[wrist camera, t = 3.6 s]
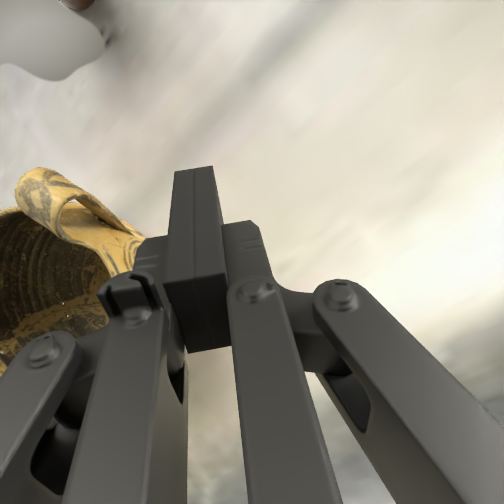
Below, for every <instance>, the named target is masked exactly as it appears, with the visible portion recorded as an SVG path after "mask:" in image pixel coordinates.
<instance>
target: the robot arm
mask: <svg viewBox="0 0 504 504" xmlns="http://www.w3.org/2000/svg"><path fill="white" fill-rule="evenodd" d="M134 260H135V262H134V264H133V268H132V269H133V270H132V271H127V272H123V273H120V274H117V275H116V276H114V277H112V278H110V279H108V280H107V281H106V282H105V283H104V284H103V285H102V286H101V287H100V288H99V290H98V292H97V293H96V295H97V297H98V299H99V301H100V303H101V304H102V306H103V308H104V310H105V312H106V314H107V315H108V317H109V322H108V324H107V325H106V326H104V327H102V328H100V329H98V330H96V331H93V332H91V333H89V334H86V335H84V336H82V337H79V338H77V339H75V338H74V336H73V335H72V334H71V333H69V332H67V331H62V330H58V331H51V332H48V333H45V334H43V335H40V336H38V337H37V338H35V339H34V340H32V341H31V342H29V343H28V344H26V345H25V346H24V347H23V349H22V350H21V351H20V352H19V353H18V354H17V355H16V356H15V358H14V359H13V360H12V362H11V363H10V364H9V366H8V367H7V368H6V370H5V371H4V372H3V374H2V375H1V376H0V504H187V449H188V368H187V364H186V361H185V359H184V344H185V346H186V349H187V352H188V354H190V353H195V352H200V351H206V350H211V349H217V348H222V347H227V346H232V354H233V363H234V373H235V382H236V391H237V401H238V410H239V419H240V428H241V438H242V447H243V456H244V466H245V475H246V484H247V494H248V503H249V504H343V502H342V498H341V495H340V491H339V488H338V485H337V481H336V478H335V474H334V471H333V468H332V464H331V461H330V458H329V454H328V451H327V447H326V444H325V441H324V437H323V434H322V430H321V427H320V424H319V420H318V417H317V414H316V410H315V407H314V403H313V400H312V397H311V393H310V390H309V386H308V383H307V380H306V376H305V373H304V371H306V372H314V373H315V374H316V376H317V378H318V379H319V381H320V382H321V384H322V386H323V387H324V389H325V390H326V392H327V394H328V395H329V397H330V398H331V400H332V402H333V403H334V405H335V406H336V408H337V409H338V411H339V413H340V414H341V416H342V417H343V419H344V421H345V422H346V424H347V425H348V427H349V429H350V430H351V432H352V433H353V435H354V437H355V438H356V440H357V441H358V443H359V445H360V446H361V448H362V449H363V451H364V453H365V454H366V456H367V457H368V459H369V461H370V462H371V464H372V465H373V467H374V468H375V470H376V472H377V473H378V475H379V476H380V478H381V480H382V481H383V483H384V484H385V486H386V488H387V489H388V491H389V492H390V494H391V496H392V497H393V499H394V500H395V502H396V504H504V426H503V425H502V424H501V423H500V422H499V421H498V420H497V419H496V418H495V417H494V416H493V415H492V414H491V413H490V412H489V411H488V410H487V409H486V408H485V407H484V406H483V405H482V404H481V403H480V402H479V401H478V400H477V399H476V398H475V397H474V396H473V395H472V394H471V393H470V392H469V391H468V390H467V389H466V388H465V387H464V386H463V385H462V384H461V383H460V382H459V381H458V380H457V379H456V378H455V377H454V376H453V375H452V374H451V373H450V372H449V371H448V370H447V369H446V368H445V367H444V366H443V365H442V364H441V363H440V362H439V361H438V360H437V359H436V358H434V357H433V356H432V355H431V354H430V353H429V352H428V351H427V350H426V349H425V348H424V347H423V346H422V345H421V344H420V343H419V342H418V341H417V340H416V339H415V338H414V337H413V336H412V335H411V334H410V333H409V332H408V331H407V330H406V329H405V328H404V327H403V326H402V325H401V324H400V323H399V322H398V321H397V320H396V319H395V318H394V317H393V316H392V315H391V314H390V313H389V312H388V311H387V310H386V309H385V308H384V307H383V306H382V305H381V304H380V303H379V302H378V301H377V300H376V299H375V298H374V297H373V296H372V295H371V294H370V293H369V292H368V291H367V290H366V289H365V288H363V287H362V286H361V285H359V284H358V283H355V282H352V281H349V280H342V279H334V280H330V281H326V282H324V283H322V284H320V285H319V286H318V287H317V288H316V289H315V291H314V292H313V293H304V292H295V291H291V290H288V289H285V288H284V287H282V286H280V285H279V284H278V283H277V282H276V281H275V279H274V277H273V275H272V271H271V268H270V264H269V261H268V257H267V254H266V250H265V247H264V244H263V240H262V237H261V233H260V230H259V227H258V226H257V225H256V224H254V223H253V222H252V221H251V220H247V221H242V222H236V223H230V224H224V223H223V218H222V212H221V207H220V202H219V197H218V191H217V186H216V181H215V176H214V171H213V166H207V167H201V168H194V169H188V170H182V171H176V172H175V173H174V182H173V191H172V200H171V209H170V218H169V227H168V235H165V236H159V237H153V238H147V239H145V240H144V241H143V242H142V243H141V245H140V246H139V247H138V248H137V251H136V255H135V259H134Z"/></svg>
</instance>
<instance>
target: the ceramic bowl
mask: <svg viewBox="0 0 504 504" xmlns="http://www.w3.org/2000/svg"><path fill="white" fill-rule="evenodd" d="M15 199H16V202H17V204H18V207H11V208H6V209H4V210H1V211H0V376H1V375H2V374H3V372H4V371H5V370H6V368H7V367H8V366H9V364H10V363H11V362H12V360H13V359H14V358H15V356H16V355H17V354H18V353H19V352H20V351H21V350H22V349H23V347H24V346H25V345H26V344H28V343H29V342H31V341H32V340H34V339H35V338H37V337H38V336H40V335H43V334H45V333H48V332H51V331H58V330H62V331H67V332H69V333H71V334H72V335H73V336H74V338H75V339H77V338H79V337H82V336H84V335H86V334H89V333H91V332H93V331H96V330H98V329H100V328H102V327H104V326H106V325H107V324H108V322H109V317H108V315H107V314H106V312H105V310H104V308H103V306H102V304H101V303H100V301H99V299H98V297H97V295H96V293H97V292H98V290H99V288H100V287H101V286H102V285H103V284H104V283H105V282H106V281H107V280H108V279H110V278H112V277H114V276H116V275H117V274H120V273H123V272H127V271H132V270H133V269H132V268H133V264H134V262H135V260H134V259H135V255H136V251H137V248H138V247H139V246H140V245H141V243H142V242H143V241H144V240H145V239H146V238H145V237H144V236H143V235H142V234H141V233H140V232H139V231H138V230H137V229H135V228H134V227H133V226H132V225H130V224H128V223H126V222H125V221H123V220H121V219H119V218H117V217H116V216H115V215H114V214H113V213H112V212H111V211H110V210H109V209H108V208H106V207H105V206H104V205H103V204H102V203H101V202H100V201H99V200H97V199H96V198H95V197H94V196H93V195H91V194H89V193H88V192H86V191H84V190H83V189H81V188H79V187H78V186H76V185H74V184H73V183H71V182H70V181H69V180H67V179H66V178H64V177H63V176H62V175H60V174H59V173H58V172H56V171H55V170H51V169H46V168H40V167H39V168H36V169H33V170H31V171H29V172H27V173H25V174H24V175H23V176H22V177H21V178H20V179H19V181H18V183H17V185H16V188H15ZM73 199H76V200H77V201H78V202H79V203H75V202H69V201H71V200H73ZM62 303H64V305H62ZM67 315H69V317H67Z"/></svg>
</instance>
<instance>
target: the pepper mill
mask: <svg viewBox="0 0 504 504" xmlns="http://www.w3.org/2000/svg"><path fill="white" fill-rule="evenodd" d="M59 1H61V2H62V3H63V4H65V5H66V6H67V7H69V8H70V9H73V10H83V9H86V8H87V7H89V6H90V5H91V4H92V3H93V2H94V0H59Z"/></svg>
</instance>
